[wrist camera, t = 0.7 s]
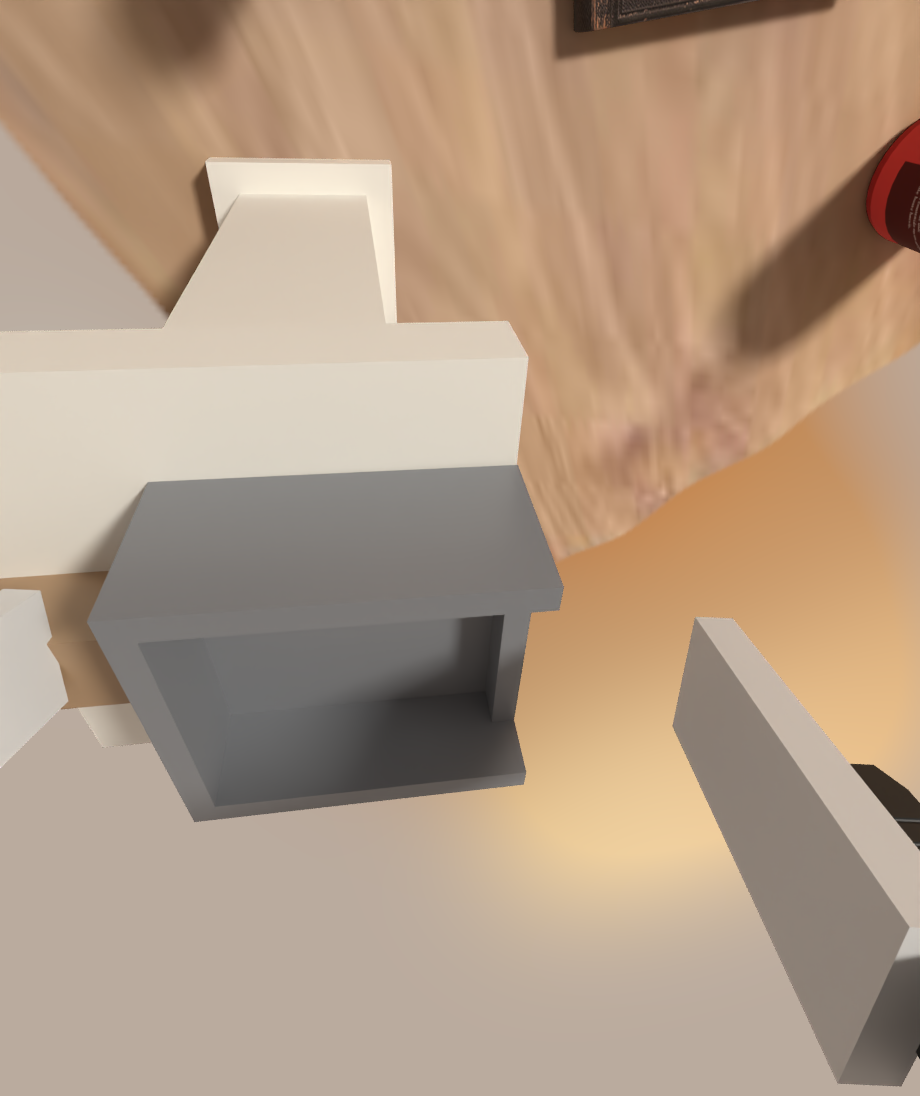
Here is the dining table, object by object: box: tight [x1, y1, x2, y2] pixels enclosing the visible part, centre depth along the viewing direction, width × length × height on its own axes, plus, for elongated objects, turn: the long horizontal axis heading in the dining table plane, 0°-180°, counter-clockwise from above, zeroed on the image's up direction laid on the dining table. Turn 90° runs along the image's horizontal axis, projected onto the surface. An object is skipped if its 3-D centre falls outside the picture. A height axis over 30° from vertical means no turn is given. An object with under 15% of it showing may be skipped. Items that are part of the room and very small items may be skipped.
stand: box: [0, 157, 529, 748], centre depth 27 cm, size 12×12×30 cm
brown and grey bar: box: [0, 465, 564, 822], centre depth 13 cm, size 22×7×4 cm, turn 88°
